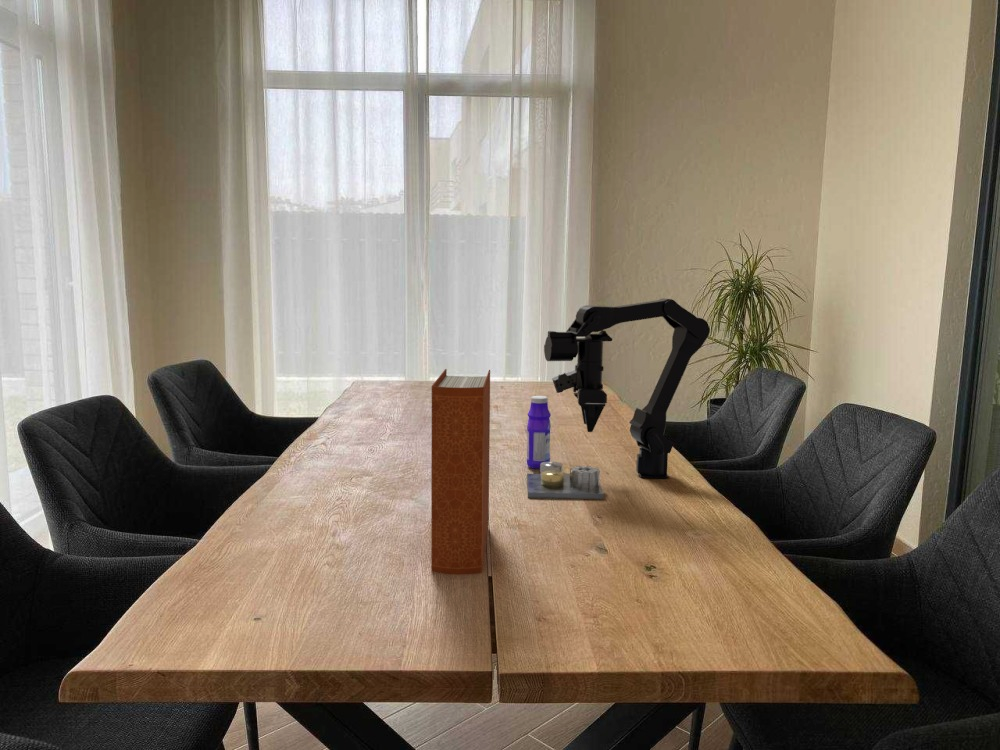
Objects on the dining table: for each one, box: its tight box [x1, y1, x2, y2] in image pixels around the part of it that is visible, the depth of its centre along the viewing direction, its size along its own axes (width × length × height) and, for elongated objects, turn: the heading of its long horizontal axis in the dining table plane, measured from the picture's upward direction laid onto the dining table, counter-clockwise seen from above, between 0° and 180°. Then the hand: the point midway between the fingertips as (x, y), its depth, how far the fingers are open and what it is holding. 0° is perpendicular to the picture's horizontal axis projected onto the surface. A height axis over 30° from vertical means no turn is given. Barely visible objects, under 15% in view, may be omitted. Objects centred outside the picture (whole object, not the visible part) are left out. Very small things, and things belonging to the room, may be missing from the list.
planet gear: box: [569, 465, 600, 489], centre depth 176 cm, size 6×6×4 cm
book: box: [430, 368, 491, 576], centre depth 136 cm, size 23×8×30 cm, turn 178°
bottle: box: [526, 395, 552, 470], centre depth 196 cm, size 7×6×17 cm
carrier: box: [526, 461, 605, 500], centre depth 177 cm, size 16×16×5 cm
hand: (588, 427), depth 184 cm, fingers open, 9 cm apart
